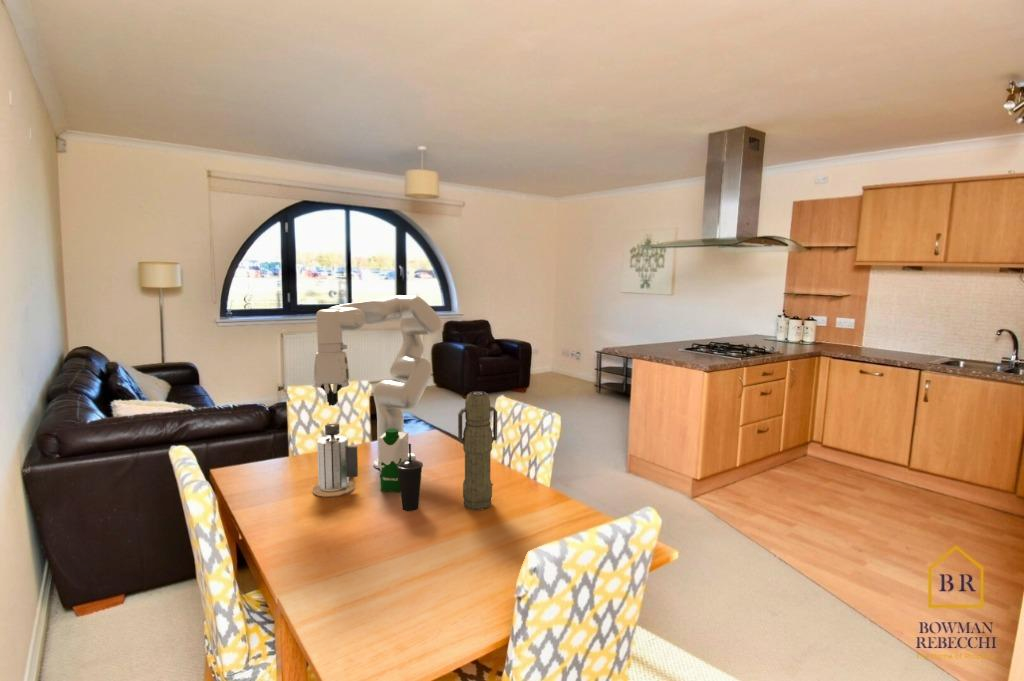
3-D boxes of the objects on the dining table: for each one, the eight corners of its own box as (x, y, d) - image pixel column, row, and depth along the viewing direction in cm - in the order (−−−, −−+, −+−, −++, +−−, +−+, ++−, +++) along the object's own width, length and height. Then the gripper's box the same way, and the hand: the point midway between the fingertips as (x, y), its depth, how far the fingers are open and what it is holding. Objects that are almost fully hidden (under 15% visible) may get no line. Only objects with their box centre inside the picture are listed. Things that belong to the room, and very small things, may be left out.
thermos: (454, 501, 165) (454, 391, 161) (490, 496, 170) (490, 388, 166) (463, 513, 157) (463, 397, 153) (500, 506, 162) (501, 394, 158)
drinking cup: (417, 514, 156) (417, 448, 154) (393, 512, 158) (392, 446, 155) (427, 504, 163) (426, 441, 161) (403, 501, 165) (402, 439, 163)
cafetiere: (362, 481, 181) (361, 433, 179) (351, 497, 168) (350, 445, 166) (321, 481, 180) (319, 433, 178) (306, 497, 167) (304, 445, 166)
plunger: (342, 478, 176) (341, 423, 174) (338, 483, 172) (336, 427, 169) (329, 478, 176) (327, 423, 174) (324, 483, 171) (323, 427, 169)
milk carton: (377, 492, 172) (376, 432, 170) (386, 481, 181) (385, 424, 179) (403, 493, 171) (402, 433, 169) (411, 482, 180) (411, 425, 178)
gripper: (357, 346, 173) (359, 401, 175) (311, 346, 172) (313, 401, 175) (350, 350, 165) (352, 407, 168) (302, 350, 165) (305, 407, 167)
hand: (332, 404), depth 171 cm, fingers closed
